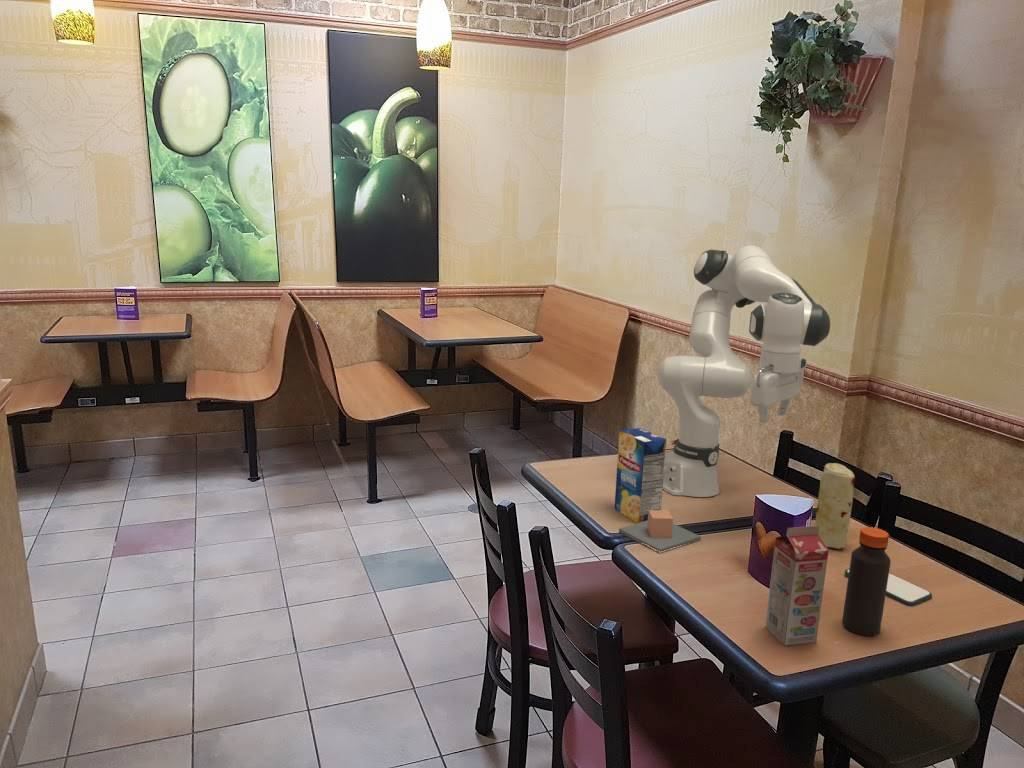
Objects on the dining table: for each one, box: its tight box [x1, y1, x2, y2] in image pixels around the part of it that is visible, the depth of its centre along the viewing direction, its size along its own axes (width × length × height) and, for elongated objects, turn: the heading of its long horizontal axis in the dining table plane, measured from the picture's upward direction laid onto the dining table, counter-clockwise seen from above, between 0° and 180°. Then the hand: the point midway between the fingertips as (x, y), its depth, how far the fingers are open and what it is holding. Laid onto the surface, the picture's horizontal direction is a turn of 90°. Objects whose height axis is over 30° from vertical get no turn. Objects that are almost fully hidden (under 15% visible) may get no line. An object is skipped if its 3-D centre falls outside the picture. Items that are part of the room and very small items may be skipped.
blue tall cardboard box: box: [614, 427, 667, 524], centre depth 195 cm, size 7×11×22 cm, turn 27°
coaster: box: [618, 520, 701, 552], centre depth 185 cm, size 14×14×1 cm
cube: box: [647, 510, 674, 538], centre depth 183 cm, size 5×5×5 cm
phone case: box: [843, 567, 933, 607], centre depth 163 cm, size 9×2×16 cm
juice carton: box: [764, 525, 830, 646], centre depth 140 cm, size 7×7×22 cm
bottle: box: [841, 526, 892, 637], centre depth 144 cm, size 7×7×20 cm
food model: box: [814, 462, 856, 550], centre depth 181 cm, size 10×7×20 cm
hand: (773, 418), depth 180 cm, fingers open, 8 cm apart
